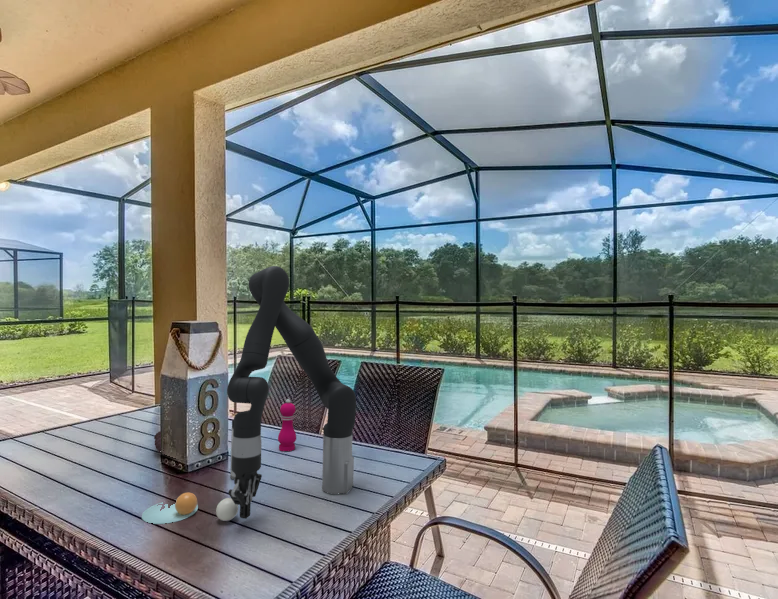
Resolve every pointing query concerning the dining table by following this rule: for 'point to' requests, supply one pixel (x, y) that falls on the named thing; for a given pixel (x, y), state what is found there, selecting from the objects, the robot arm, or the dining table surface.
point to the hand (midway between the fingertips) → (245, 516)
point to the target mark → (164, 514)
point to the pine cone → (158, 441)
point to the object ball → (186, 503)
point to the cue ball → (226, 509)
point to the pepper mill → (287, 427)
